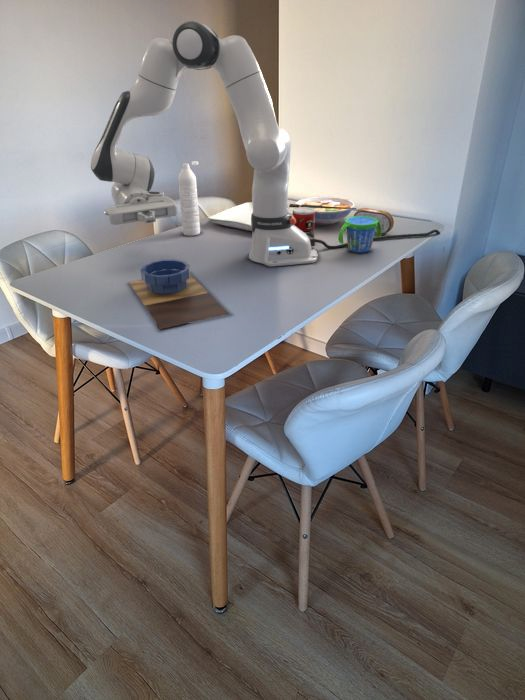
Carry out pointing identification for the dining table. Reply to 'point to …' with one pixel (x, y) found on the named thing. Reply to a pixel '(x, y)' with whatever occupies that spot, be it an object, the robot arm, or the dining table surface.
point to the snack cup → (360, 233)
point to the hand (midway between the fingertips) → (150, 219)
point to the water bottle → (189, 200)
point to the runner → (152, 298)
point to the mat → (185, 310)
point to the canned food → (305, 219)
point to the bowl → (166, 276)
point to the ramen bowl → (327, 208)
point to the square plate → (236, 216)
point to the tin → (378, 218)
